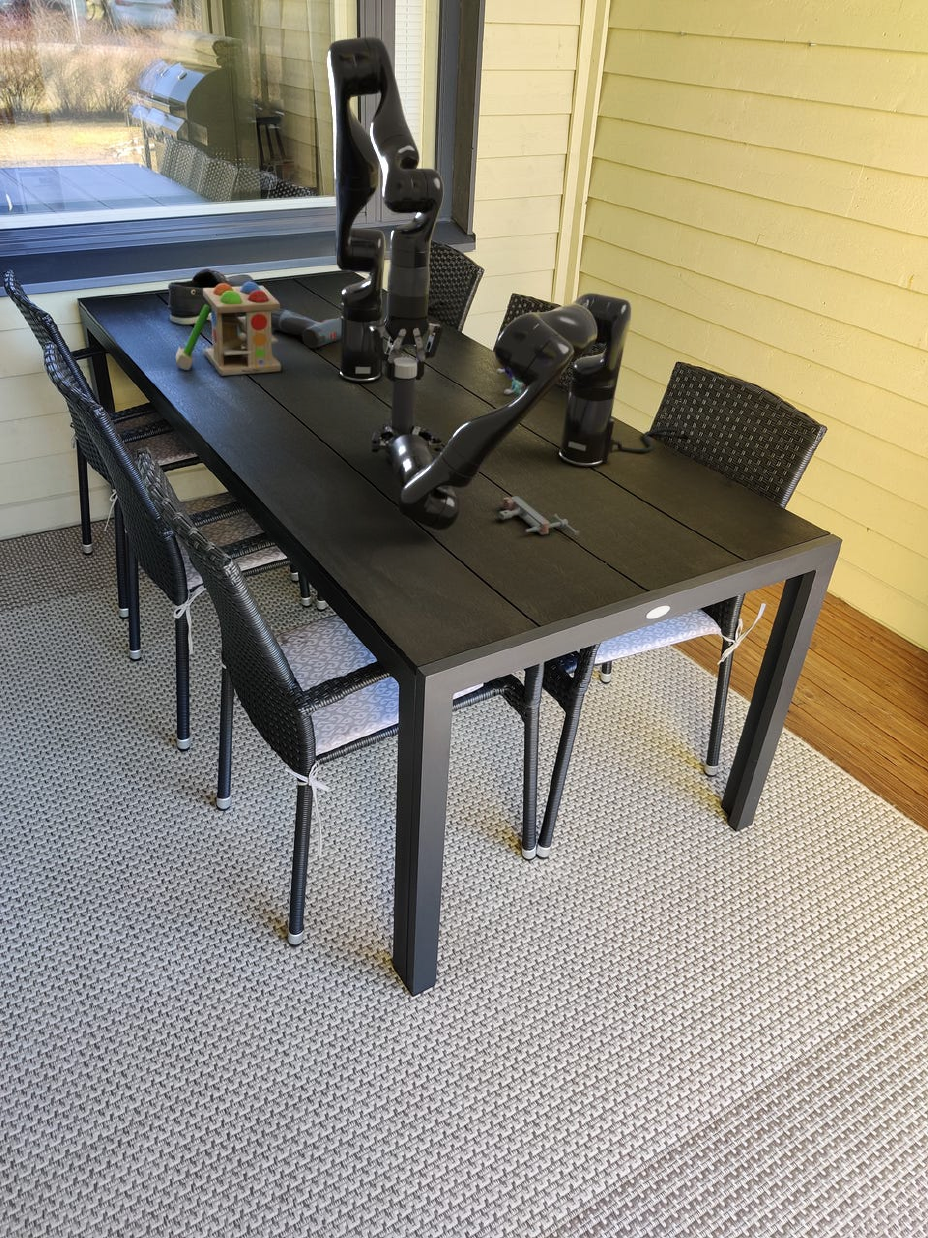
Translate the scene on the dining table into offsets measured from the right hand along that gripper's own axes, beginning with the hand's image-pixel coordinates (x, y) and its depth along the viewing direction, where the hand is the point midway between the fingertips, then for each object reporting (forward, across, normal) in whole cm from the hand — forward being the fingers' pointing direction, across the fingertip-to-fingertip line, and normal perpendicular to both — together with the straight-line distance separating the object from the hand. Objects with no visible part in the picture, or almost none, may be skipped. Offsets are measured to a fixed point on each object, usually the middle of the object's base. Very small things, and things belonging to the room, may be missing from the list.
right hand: (399, 424), depth 194 cm
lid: (-3, 0, -14) cm, 14 cm away
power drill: (+73, +11, +7) cm, 74 cm away
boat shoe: (+92, +36, +7) cm, 99 cm away
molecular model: (+30, -33, +7) cm, 45 cm away
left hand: (-3, 0, -10) cm, 11 cm away
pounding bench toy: (+50, +33, +6) cm, 60 cm away
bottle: (-3, 0, +6) cm, 7 cm away
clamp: (-30, -20, +6) cm, 37 cm away
